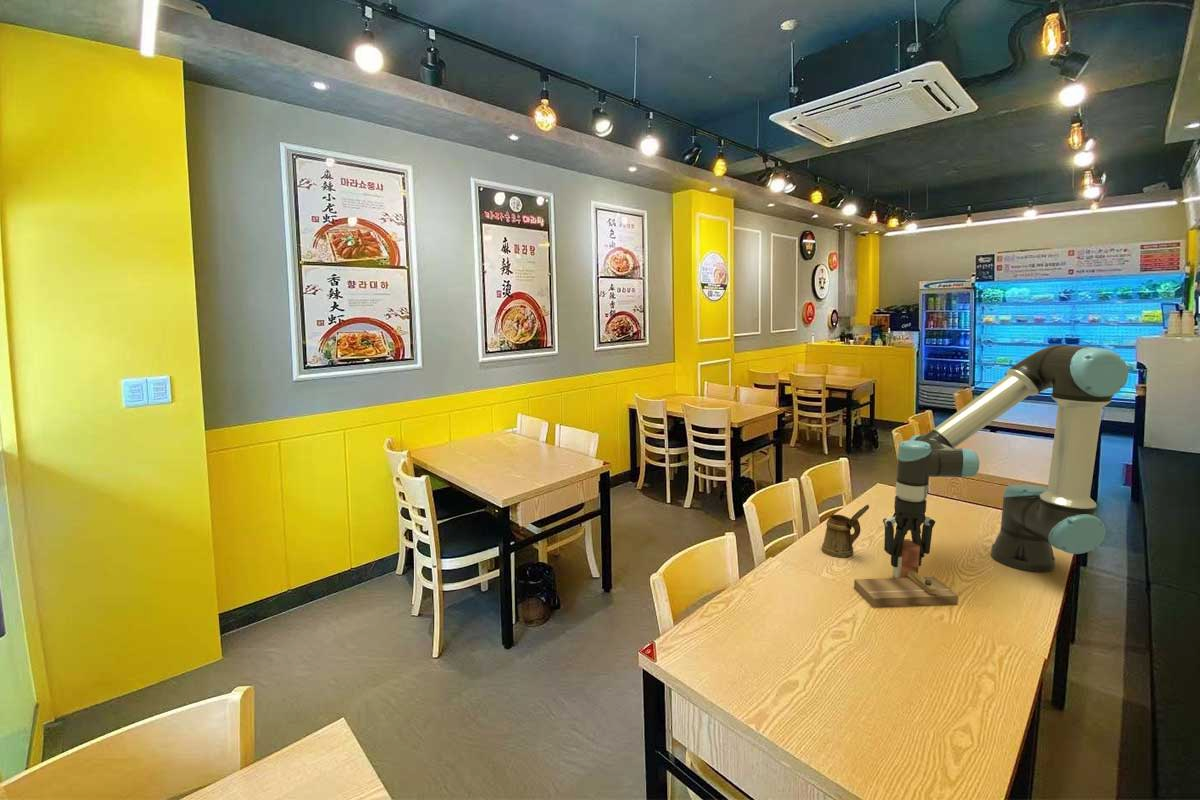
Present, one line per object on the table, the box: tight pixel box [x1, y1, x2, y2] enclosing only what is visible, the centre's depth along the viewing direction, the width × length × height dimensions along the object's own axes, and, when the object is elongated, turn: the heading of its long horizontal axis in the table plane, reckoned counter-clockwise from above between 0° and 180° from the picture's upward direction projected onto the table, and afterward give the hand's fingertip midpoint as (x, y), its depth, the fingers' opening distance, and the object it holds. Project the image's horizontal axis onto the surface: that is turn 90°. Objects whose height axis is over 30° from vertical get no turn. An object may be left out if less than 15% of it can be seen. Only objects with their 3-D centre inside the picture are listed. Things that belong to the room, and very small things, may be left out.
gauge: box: [894, 538, 938, 594], centre depth 145 cm, size 4×15×11 cm, turn 1°
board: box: [853, 576, 959, 608], centre depth 143 cm, size 22×10×3 cm, turn 91°
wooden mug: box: [821, 504, 870, 558], centre depth 167 cm, size 9×14×18 cm, turn 37°
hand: (904, 576), depth 151 cm, fingers closed on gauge, 4 cm apart
